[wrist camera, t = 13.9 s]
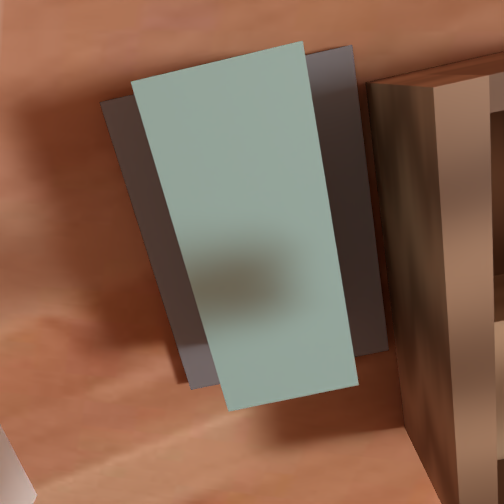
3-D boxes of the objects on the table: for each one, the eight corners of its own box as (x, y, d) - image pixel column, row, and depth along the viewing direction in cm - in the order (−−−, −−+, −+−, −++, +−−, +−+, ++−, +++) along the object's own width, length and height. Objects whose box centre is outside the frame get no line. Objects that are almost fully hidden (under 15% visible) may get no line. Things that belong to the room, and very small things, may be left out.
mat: (191, 382, 24) (190, 389, 23) (103, 101, 19) (99, 102, 18) (385, 343, 23) (388, 350, 23) (348, 45, 18) (352, 44, 18)
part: (332, 318, 22) (358, 384, 17) (229, 340, 22) (228, 411, 18) (284, 49, 18) (302, 40, 13) (157, 79, 18) (130, 81, 13)
